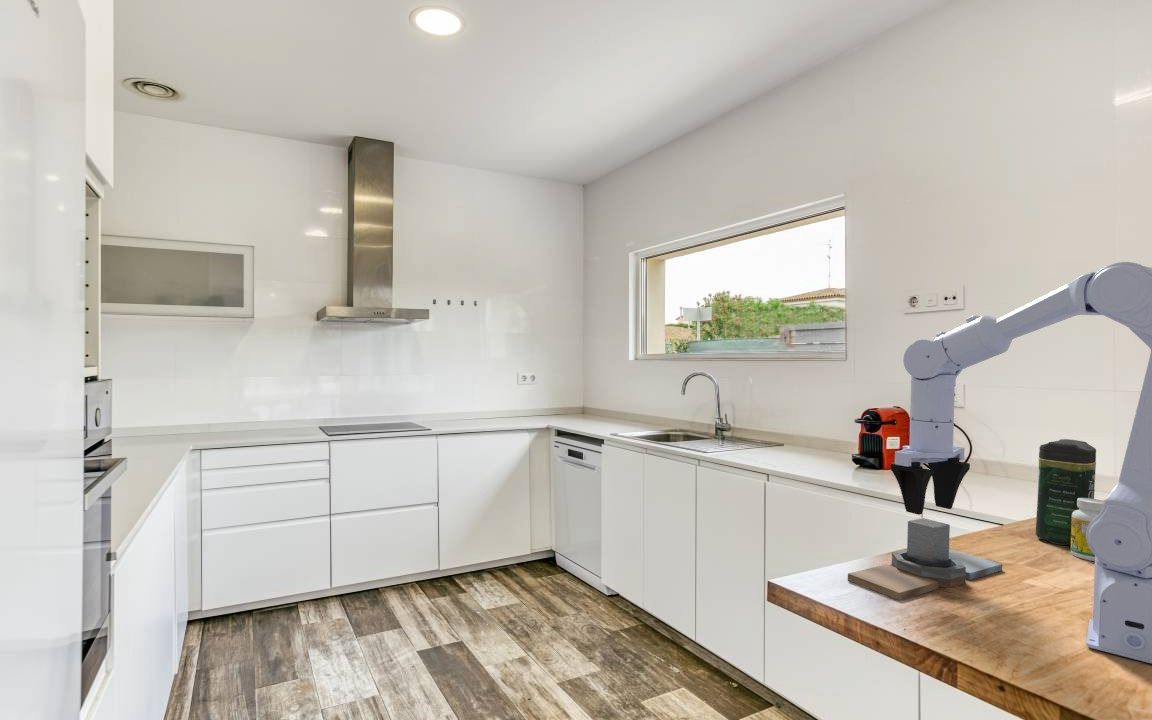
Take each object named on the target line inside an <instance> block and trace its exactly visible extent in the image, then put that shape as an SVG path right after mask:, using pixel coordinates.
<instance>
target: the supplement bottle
mask: <svg viewBox="0 0 1152 720" xmlns="http://www.w3.org/2000/svg"><path fill="white" fill-rule="evenodd" d="M1104 502H1105V500H1101V499H1096V498H1094V499H1091V498H1078V499H1077V507H1079V510H1075V511H1074V512H1073V513H1072V521H1071V545H1070V553H1071V555H1072V556H1074V557H1075V558H1079V559H1082V560H1085V561H1089V562H1095V555H1094V554H1093V552H1092V551H1091V550H1090V548H1089V546H1088V543H1087V540H1086V531H1087V528H1088V525H1089V524H1090V523H1091V521H1092V520H1093V519H1095V518H1096V517H1097V516H1098V515H1099V514H1100V513H1101V511H1102V509H1103V506H1104Z"/></svg>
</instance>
